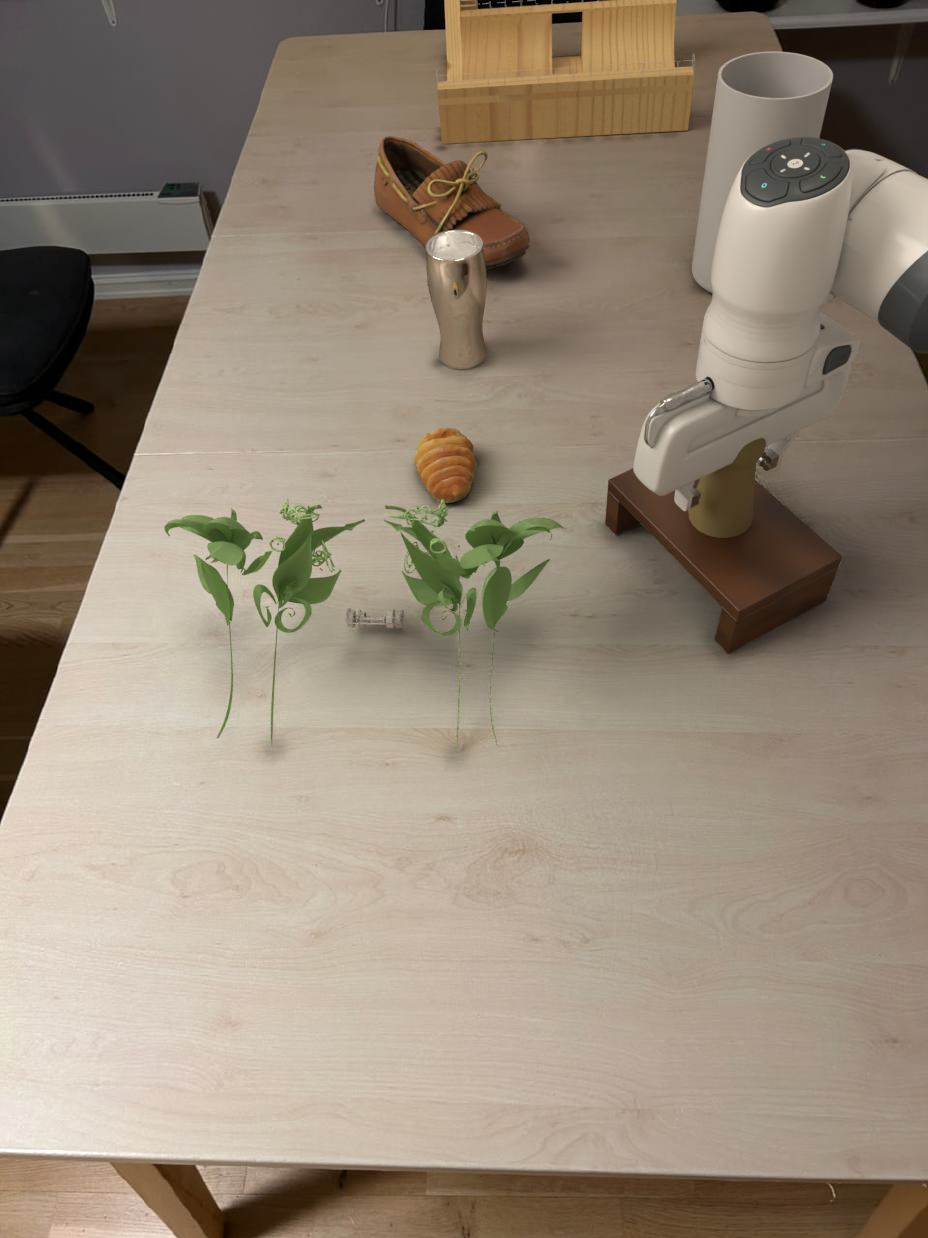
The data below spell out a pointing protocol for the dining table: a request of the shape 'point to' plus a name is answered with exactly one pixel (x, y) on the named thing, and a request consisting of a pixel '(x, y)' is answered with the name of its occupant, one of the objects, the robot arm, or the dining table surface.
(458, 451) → the pastry
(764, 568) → the shelf
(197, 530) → the plant cuttings
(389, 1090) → the dining table surface
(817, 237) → the robot arm
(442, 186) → the moccasin
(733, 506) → the olive yellow pawn
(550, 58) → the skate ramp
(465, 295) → the beer glass
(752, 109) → the cylinder vase
